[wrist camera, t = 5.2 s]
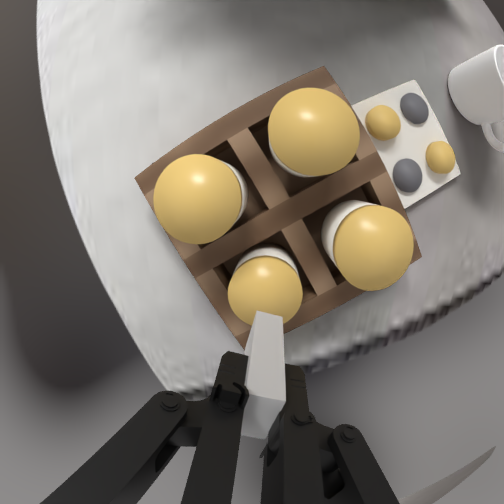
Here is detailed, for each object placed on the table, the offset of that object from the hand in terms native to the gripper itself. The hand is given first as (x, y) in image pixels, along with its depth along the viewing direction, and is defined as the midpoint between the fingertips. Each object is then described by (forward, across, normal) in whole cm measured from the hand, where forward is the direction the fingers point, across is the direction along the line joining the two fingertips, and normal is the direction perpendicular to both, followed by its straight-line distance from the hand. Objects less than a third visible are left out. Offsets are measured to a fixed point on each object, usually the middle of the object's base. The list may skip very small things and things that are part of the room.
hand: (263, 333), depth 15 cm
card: (+14, +11, +17) cm, 25 cm away
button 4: (+10, +6, +6) cm, 13 cm away
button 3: (+10, 0, +12) cm, 16 cm away
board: (+14, 0, +6) cm, 15 cm away
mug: (+15, +21, +26) cm, 36 cm away
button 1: (+10, -6, +6) cm, 13 cm away
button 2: (+13, 0, -1) cm, 13 cm away
